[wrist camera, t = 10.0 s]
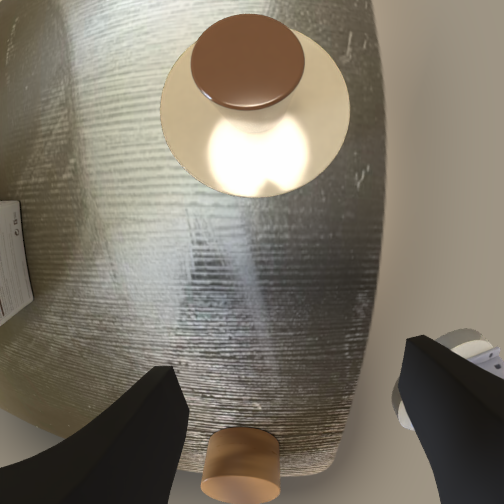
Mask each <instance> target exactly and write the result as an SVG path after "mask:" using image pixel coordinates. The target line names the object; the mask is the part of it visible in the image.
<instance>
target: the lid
mask: <svg viewBox="0 0 504 504" xmlns="http://www.w3.org/2000/svg"><path fill="white" fill-rule="evenodd" d="M160 117H161V125H162V130H163V134H164V137H165V139H166V142H167V145H168V146H169V148H170V150H171V152H172V154H173V155H174V157H175V158H176V160H177V161H178V162H179V164H180V165H181V166H182V167H183V168H184V169H185V170H186V171H187V172H188V173H189V174H190V175H191V176H193V177H194V178H195V179H196V180H198V181H199V182H201V183H203V184H204V185H206V186H208V187H210V188H212V189H214V190H216V191H219V192H222V193H225V194H228V195H233V196H238V197H246V198H263V197H272V196H277V195H281V194H285V193H288V192H291V191H293V190H295V189H298V188H300V187H302V186H304V185H306V184H307V183H309V182H310V181H312V180H313V179H315V178H316V177H317V176H318V175H320V174H321V173H322V172H323V171H324V170H325V169H326V168H327V167H328V166H329V165H330V163H331V162H332V161H333V160H334V158H335V157H336V155H337V154H338V152H339V150H340V148H341V146H342V144H343V142H344V140H345V137H346V134H347V131H348V126H349V120H350V101H349V94H348V90H347V86H346V83H345V81H344V78H343V76H342V74H341V72H340V70H339V68H338V67H337V65H336V63H335V62H334V61H333V59H332V58H331V57H330V56H329V54H328V53H327V52H326V51H325V50H324V49H323V48H322V47H321V46H320V45H318V44H317V43H316V42H314V41H313V40H312V39H310V38H309V37H307V36H305V35H303V34H302V33H300V32H298V31H295V30H293V29H290V28H288V27H287V26H285V25H284V24H282V23H281V22H279V21H277V20H275V19H273V18H270V17H267V16H263V15H258V14H239V15H234V16H230V17H227V18H224V19H222V20H220V21H218V22H216V23H215V24H213V25H212V26H210V27H209V28H208V29H207V30H206V31H205V32H203V34H202V35H201V36H200V37H199V39H198V40H197V41H196V42H195V43H194V44H192V45H191V46H190V47H189V48H188V49H187V50H186V51H185V52H184V53H183V54H182V55H181V56H180V57H179V59H178V60H177V61H176V63H175V64H174V66H173V67H172V69H171V71H170V73H169V75H168V77H167V79H166V82H165V85H164V87H163V92H162V96H161V104H160Z"/></svg>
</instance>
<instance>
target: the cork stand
mask: <svg viewBox="0 0 504 504" xmlns="http://www.w3.org/2000/svg"><path fill="white" fill-rule="evenodd" d="M201 489H202V491H203V492H204V493H205V494H207V495H208V496H210V497H212V498H214V499H217V500H219V501H223V502H227V503H232V504H259V503H264V502H268V501H270V500H273V499H275V498H276V497H277V496H278V495H279V494H280V456H279V443H278V441H277V439H276V438H275V437H274V436H272V435H271V434H269V433H267V432H265V431H262V430H259V429H255V428H249V427H232V428H226V429H223V430H220V431H218V432H216V433H214V434H213V435H212V436H211V437H210V439H209V443H208V448H207V454H206V459H205V464H204V470H203V475H202V481H201Z"/></svg>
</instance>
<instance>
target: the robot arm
mask: <svg viewBox="0 0 504 504" xmlns="http://www.w3.org/2000/svg"><path fill="white" fill-rule="evenodd" d="M499 353H500V348H499V347H495V348H493V349H490V350H488V351H486V352H483V353H481V354H478V355H476V356H473V357H471V358H468V359H465V358H463V357H461V356H460V355H458V354H456V353H455V352H453V351H451V350H450V349H448V348H446V347H445V346H443V345H441V344H440V343H438V342H436V341H434V340H433V339H431V338H429V337H427V336H425V335H420V336H416V337H412V338H408V339H406V347H405V352H404V358H403V363H402V368H401V373H400V378H399V383H398V388H399V392H400V395H401V398H402V401H403V404H404V407H405V410H406V413H407V415H408V417H409V419H410V421H411V426H412V428H414V430H415V432H416V434H417V436H418V438H419V440H420V442H421V445H422V447H423V449H424V451H425V453H426V455H427V458H428V460H429V462H430V465H431V467H432V470H433V473H434V477H435V481H436V484H437V488H438V492H439V497H440V501H441V504H504V361H503V360H502V359H501V358H500V357H499ZM188 418H189V408H188V405H187V403H186V400H185V398H184V395H183V393H182V390H181V388H180V385H179V383H178V380H177V377H176V375H175V372H174V369H173V366H154V367H153V368H152V369H151V370H150V371H148V372H147V373H146V374H145V375H144V376H143V377H142V378H141V379H140V380H138V381H137V382H136V383H135V384H134V385H133V386H132V387H131V388H130V389H129V390H128V391H126V392H125V393H124V394H123V395H122V396H121V397H120V398H119V399H118V400H116V401H115V402H114V403H113V404H112V405H111V406H110V407H108V408H107V409H106V410H105V411H103V412H102V413H101V414H100V415H99V416H97V417H96V418H95V419H94V420H92V421H91V422H90V423H88V424H87V425H86V426H85V427H83V428H82V429H80V430H79V431H77V432H76V433H75V434H73V435H71V436H70V437H68V438H67V439H65V440H63V441H62V442H60V443H58V444H57V445H55V446H53V447H51V448H49V449H47V450H45V451H43V452H41V453H39V454H37V455H35V456H33V457H31V458H28V459H25V460H23V461H20V462H17V463H14V464H11V465H8V466H5V467H1V468H0V504H168V499H169V495H170V490H171V487H172V483H173V480H174V476H175V473H176V470H177V466H178V463H179V459H180V456H181V452H182V449H183V445H184V442H185V438H186V432H187V426H188Z"/></svg>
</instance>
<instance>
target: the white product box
mask: <svg viewBox="0 0 504 504" xmlns="http://www.w3.org/2000/svg"><path fill="white" fill-rule="evenodd" d="M32 301H33V294H32V290H31V285H30V280H29V275H28V270H27V264H26V258H25V251H24V244H23V237H22V228H21V218H20V204H19V201H0V326H1V325H2V324H4V323H5V322H6V321H7V320H8V319H10V318H11V317H12V316H14V315H15V314H16V313H17V312H19V311H20V310H21V309H22V308H24V307H25V306H26V305H28V304H29V303H30V302H32Z"/></svg>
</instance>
